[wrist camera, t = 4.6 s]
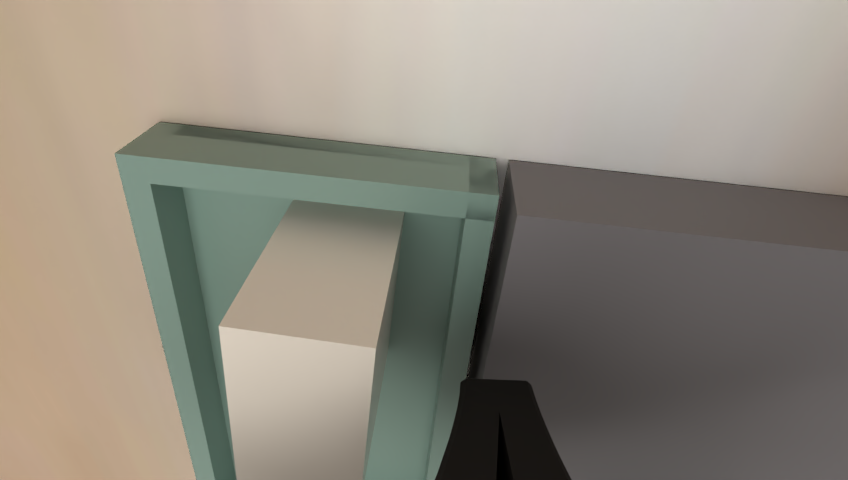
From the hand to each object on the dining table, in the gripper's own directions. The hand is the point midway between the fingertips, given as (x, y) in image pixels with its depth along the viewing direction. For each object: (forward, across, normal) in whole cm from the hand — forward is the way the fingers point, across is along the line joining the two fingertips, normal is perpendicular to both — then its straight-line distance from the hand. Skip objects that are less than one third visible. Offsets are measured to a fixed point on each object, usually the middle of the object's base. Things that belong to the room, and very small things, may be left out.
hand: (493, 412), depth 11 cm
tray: (+4, +5, +2) cm, 6 cm away
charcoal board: (+4, -4, +3) cm, 7 cm away
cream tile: (+1, +2, -1) cm, 3 cm away
